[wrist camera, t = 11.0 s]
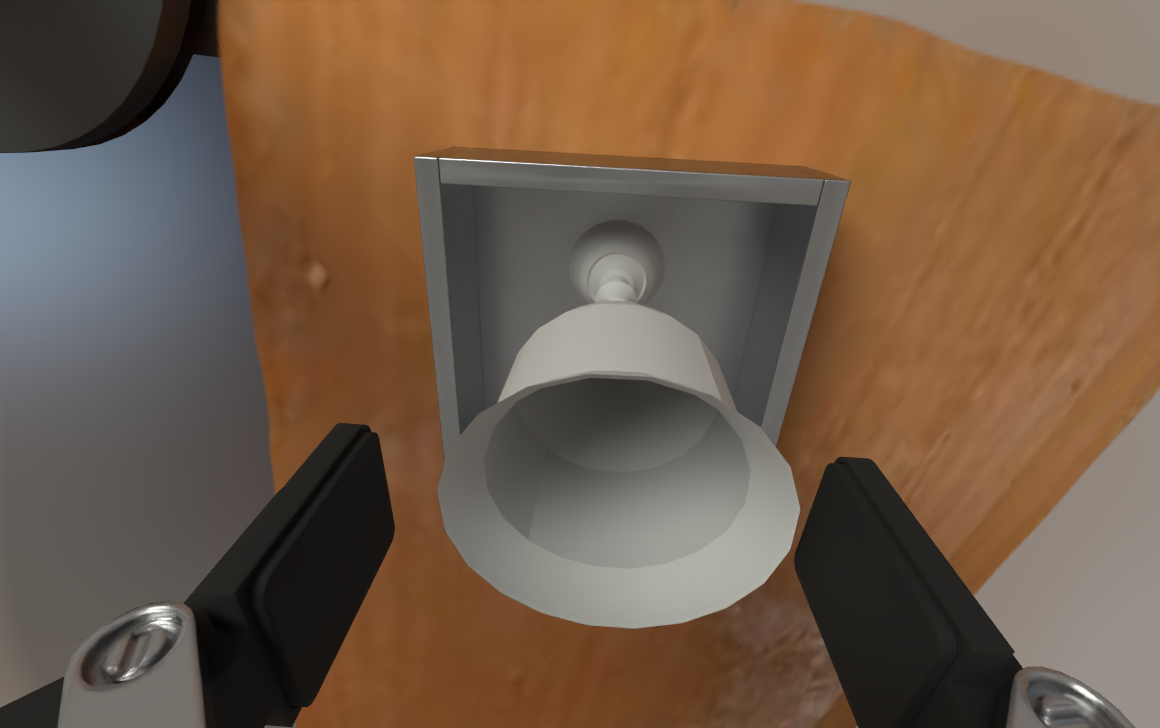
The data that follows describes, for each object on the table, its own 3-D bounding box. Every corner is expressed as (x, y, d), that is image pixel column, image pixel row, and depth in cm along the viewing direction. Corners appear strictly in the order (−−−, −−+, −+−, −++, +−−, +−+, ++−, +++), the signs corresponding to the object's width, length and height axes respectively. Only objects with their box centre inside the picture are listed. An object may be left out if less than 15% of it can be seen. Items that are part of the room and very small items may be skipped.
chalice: (701, 215, 25) (859, 412, 9) (669, 338, 28) (739, 650, 12) (556, 189, 24) (441, 340, 8) (540, 316, 28) (434, 599, 12)
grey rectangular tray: (474, 469, 33) (450, 527, 29) (452, 146, 24) (412, 155, 19) (727, 489, 33) (746, 553, 28) (805, 166, 23) (852, 180, 19)
